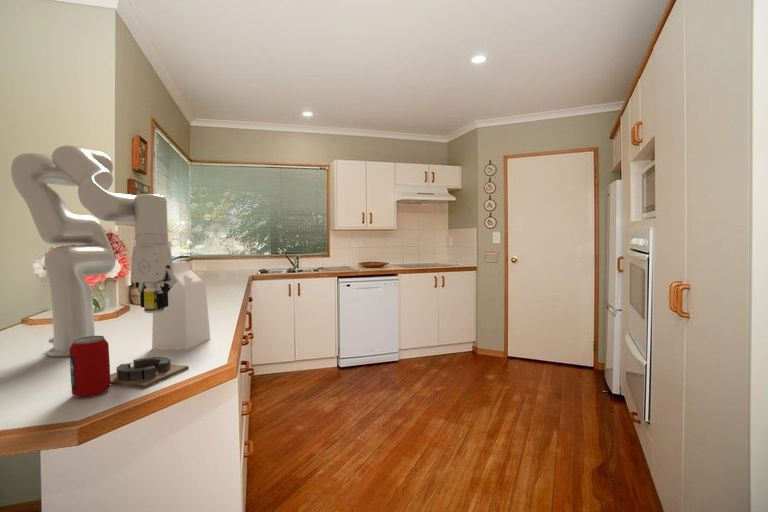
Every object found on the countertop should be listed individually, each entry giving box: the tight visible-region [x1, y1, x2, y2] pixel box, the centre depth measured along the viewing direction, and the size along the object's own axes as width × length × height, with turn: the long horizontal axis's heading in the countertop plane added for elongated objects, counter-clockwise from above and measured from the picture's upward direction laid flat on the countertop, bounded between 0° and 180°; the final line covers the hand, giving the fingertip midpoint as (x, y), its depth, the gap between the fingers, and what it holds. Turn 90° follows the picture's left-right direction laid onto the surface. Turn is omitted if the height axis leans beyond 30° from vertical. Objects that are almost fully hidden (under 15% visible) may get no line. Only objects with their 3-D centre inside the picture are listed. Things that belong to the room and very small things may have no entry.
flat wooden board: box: [110, 356, 190, 389], centre depth 93 cm, size 14×13×3 cm
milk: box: [151, 261, 211, 350], centre depth 121 cm, size 12×12×26 cm
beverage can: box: [69, 335, 111, 399], centre depth 83 cm, size 7×7×12 cm
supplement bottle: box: [143, 283, 164, 314], centre depth 104 cm, size 5×5×8 cm
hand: (154, 306), depth 105 cm, fingers closed on supplement bottle, 4 cm apart
